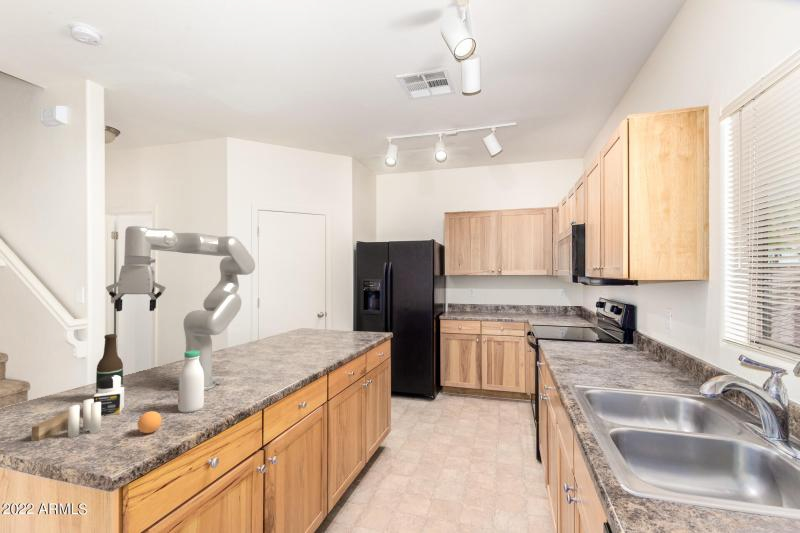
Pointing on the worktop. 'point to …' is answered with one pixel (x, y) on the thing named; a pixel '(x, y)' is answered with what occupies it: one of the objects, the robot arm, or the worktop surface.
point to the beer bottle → (109, 361)
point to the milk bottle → (191, 384)
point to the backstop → (50, 426)
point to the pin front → (95, 417)
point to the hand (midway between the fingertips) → (135, 310)
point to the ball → (149, 422)
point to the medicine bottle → (110, 395)
